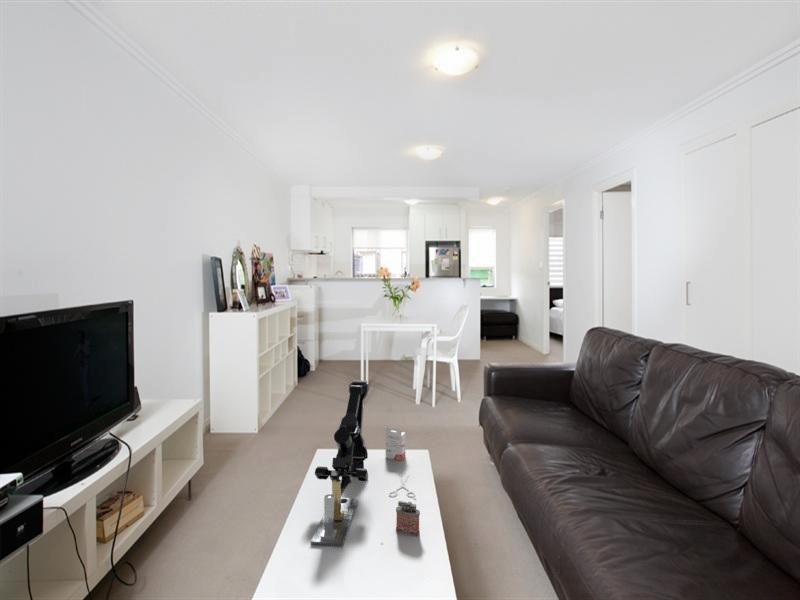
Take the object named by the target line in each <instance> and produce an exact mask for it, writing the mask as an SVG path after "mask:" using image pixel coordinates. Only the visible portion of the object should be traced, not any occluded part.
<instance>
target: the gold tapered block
mask: <svg viewBox="0 0 800 600" xmlns="http://www.w3.org/2000/svg"><path fill="white" fill-rule="evenodd" d="M339 479H340V478H339ZM339 479H335V480H333V481H332V480H331V488H332V489H331V494H332V495H334V520H342V518H343V515H344V511H341V498H342V496H341V479H340V480H339Z"/></svg>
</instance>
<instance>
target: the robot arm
mask: <svg viewBox="0 0 800 600" xmlns="http://www.w3.org/2000/svg"><path fill="white" fill-rule="evenodd" d="M369 391H370V383H369V382H367V380H355V379H353V380H352V382H349V383H348V393H349V397H348V403H347V409H346V412H345V415H344V417H342V418H341V421H340V424H339V425H338V427H337V429H336V431H335V432H334V435H333V439H334V441H335V444H336V446H337V454H336V456H335V457H332V462H331V463H332V465H331V467H332V469H333V470H332V469H331V470H330V469H329V468H328V467H327V466H317V467H316V468H315V471H314V475H315V477H316V479H317V480H325V481H326V480H328V479H329V478H330V480H331V482H332V481H333V480H335V479H339V480H341V497H342V495H343V493H344V492H345V491H346V489H347V487H348V486H349V484H352V483H353V478H357V480H358V481H359V482H368V481H369V473H368V470H367V468H365V464H364V462H365V461H366V460H367V459H368V458H369V456H368V455H369V454H368V449H367V446H366V445H365V444H366V442H365V438H364V437H363V418H364V401H365V400H366V398H367V397H368V394H369ZM340 478H341V479H340Z"/></svg>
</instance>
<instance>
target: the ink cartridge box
mask: <svg viewBox="0 0 800 600" xmlns="http://www.w3.org/2000/svg"><path fill="white" fill-rule="evenodd" d="M385 458H386V459H390V460H396V461H403V460H404V459H405V458H406V432H403V431H402V429H401V428H396V427H388V426H386V427H385Z"/></svg>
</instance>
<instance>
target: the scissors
mask: <svg viewBox="0 0 800 600" xmlns="http://www.w3.org/2000/svg"><path fill="white" fill-rule="evenodd" d="M409 475H410V474H408V475H407V476H406V477H405V479H403V477H402V475H401V474H399V480H400V486H399V488H396V489H395V490H394V491H391V492H389V494H388V496H389V497H390V498H395V497H397V496H398V491H399V490H401V489H404V490H406V491H407V493H406V496H407V497H408V498H412V499H414V501H417V498H416V497H415V496H416V493H415V492H413V491H410V489H408V488H407V487H406V483H407V481H408V479H409ZM397 490H398V491H397ZM395 493H396V494H395ZM391 494H394V495H391ZM410 494H412V495H410ZM396 495H397V496H396Z"/></svg>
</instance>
